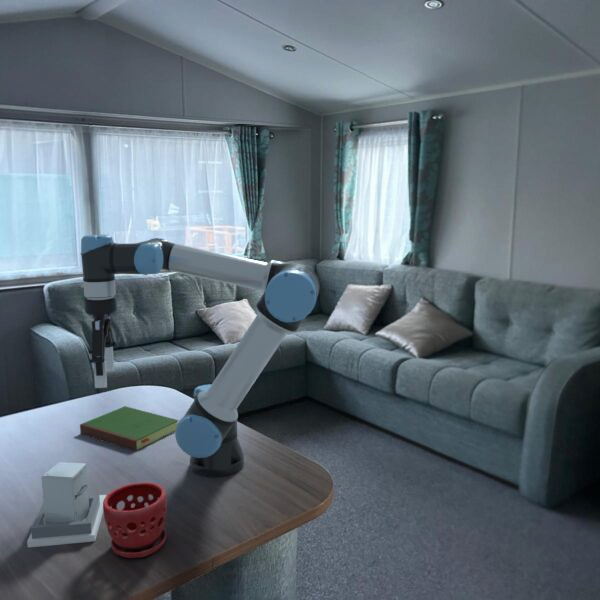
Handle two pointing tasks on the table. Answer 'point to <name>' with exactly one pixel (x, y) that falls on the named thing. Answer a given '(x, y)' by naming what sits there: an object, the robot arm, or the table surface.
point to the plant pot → (136, 519)
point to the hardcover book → (129, 427)
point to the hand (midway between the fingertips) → (105, 379)
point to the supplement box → (65, 493)
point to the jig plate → (68, 527)
